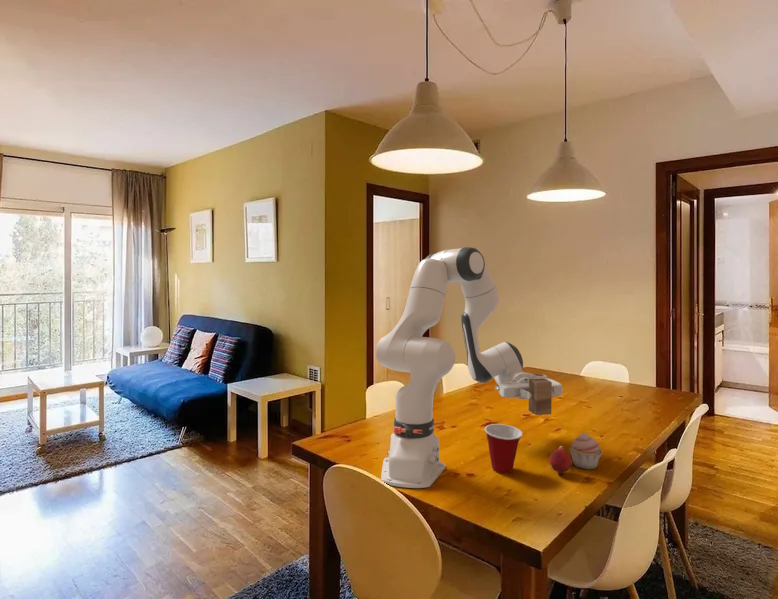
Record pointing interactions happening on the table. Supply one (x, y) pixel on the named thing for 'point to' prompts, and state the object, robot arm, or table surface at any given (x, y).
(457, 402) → the table surface
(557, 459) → the onion
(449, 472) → the table surface
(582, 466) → the cupcake
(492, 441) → the plastic cup
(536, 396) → the walnut block
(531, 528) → the table surface
